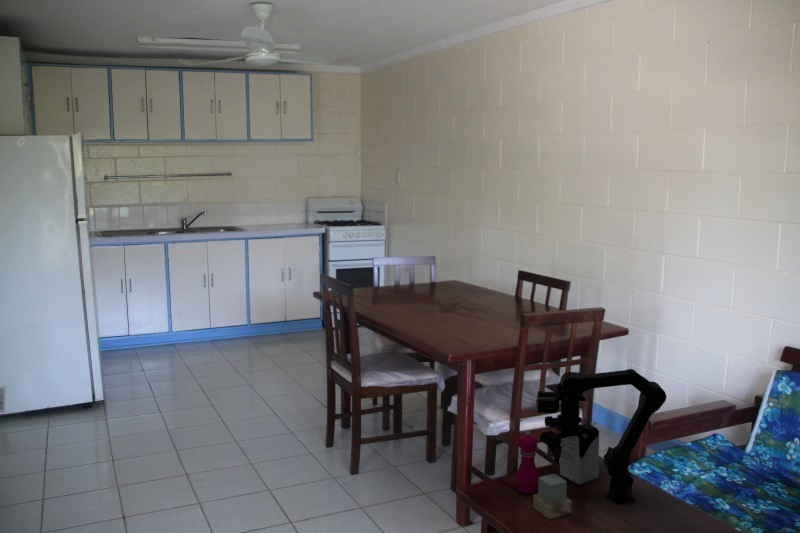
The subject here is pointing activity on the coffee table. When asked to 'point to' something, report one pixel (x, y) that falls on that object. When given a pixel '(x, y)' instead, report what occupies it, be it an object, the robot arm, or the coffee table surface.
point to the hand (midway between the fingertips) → (569, 460)
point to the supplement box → (579, 460)
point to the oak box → (552, 507)
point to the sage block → (552, 488)
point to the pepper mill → (527, 464)
